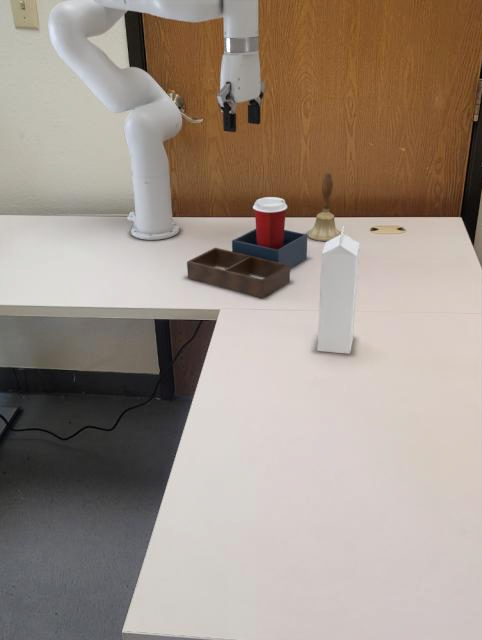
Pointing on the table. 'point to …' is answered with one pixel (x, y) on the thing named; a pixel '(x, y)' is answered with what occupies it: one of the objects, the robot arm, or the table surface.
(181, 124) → the robot arm
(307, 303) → the table surface
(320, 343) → the milk
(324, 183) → the hand bell
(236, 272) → the wooden divided tray
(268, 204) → the paper cup
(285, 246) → the blue square tray
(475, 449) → the table surface
